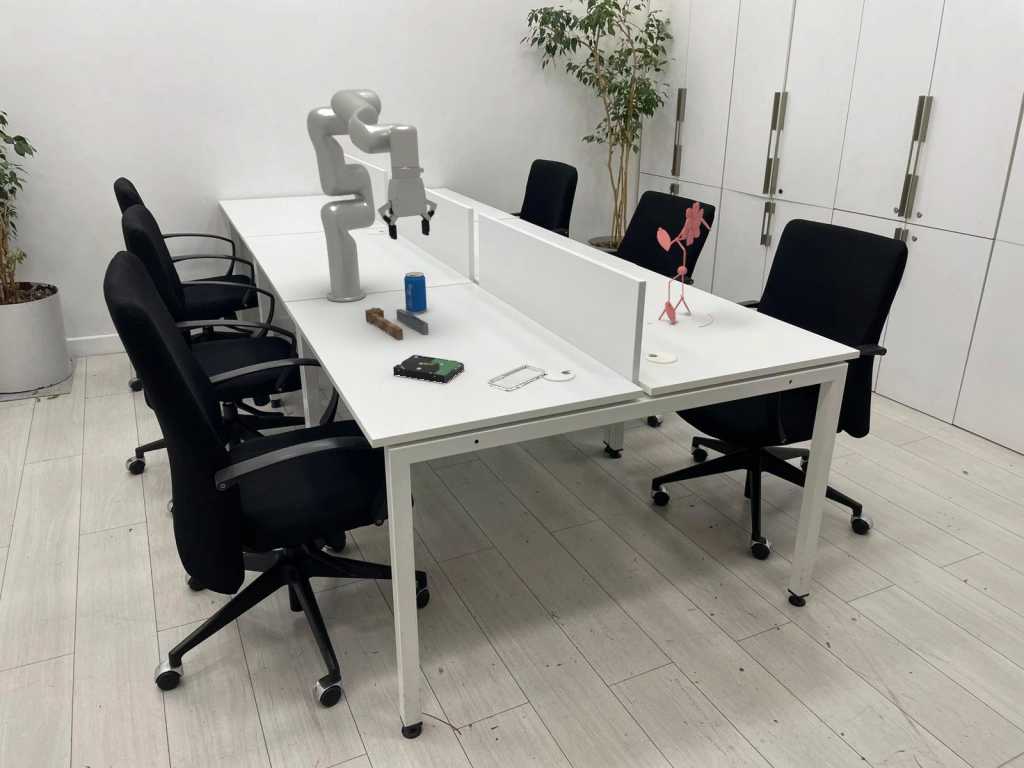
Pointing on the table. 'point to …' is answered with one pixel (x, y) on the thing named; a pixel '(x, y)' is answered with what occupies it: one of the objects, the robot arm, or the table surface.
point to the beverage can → (415, 292)
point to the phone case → (514, 371)
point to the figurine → (690, 232)
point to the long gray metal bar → (412, 321)
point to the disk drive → (428, 368)
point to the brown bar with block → (383, 323)
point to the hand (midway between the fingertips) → (409, 236)
